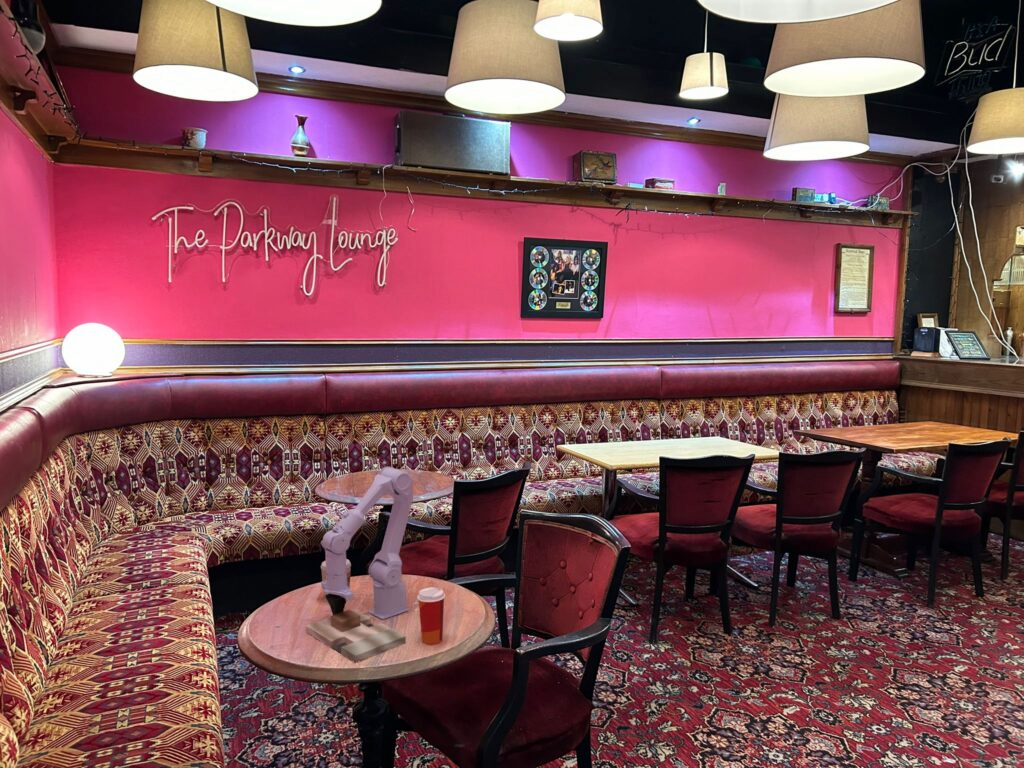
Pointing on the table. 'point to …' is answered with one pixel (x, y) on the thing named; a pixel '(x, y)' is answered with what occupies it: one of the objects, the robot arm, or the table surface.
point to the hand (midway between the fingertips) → (338, 618)
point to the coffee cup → (323, 569)
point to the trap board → (357, 638)
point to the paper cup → (431, 615)
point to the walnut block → (345, 620)
